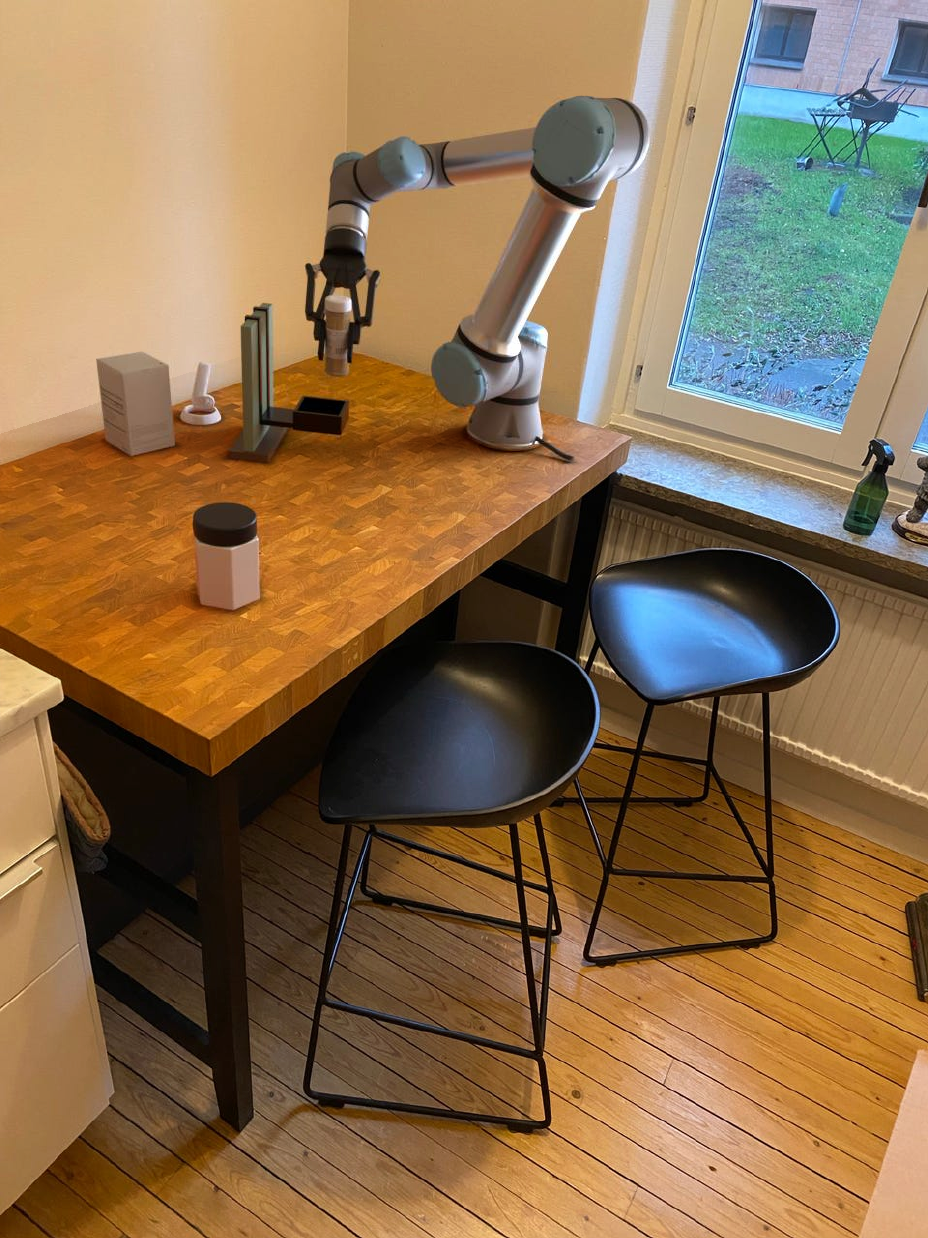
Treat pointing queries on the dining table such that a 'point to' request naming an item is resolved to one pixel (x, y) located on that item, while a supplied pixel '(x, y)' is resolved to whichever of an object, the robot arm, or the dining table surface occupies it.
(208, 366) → the white vr controller
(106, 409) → the rectangular carton
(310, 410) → the black tray bracket
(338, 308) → the sprinkles bottle
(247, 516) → the jar
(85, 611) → the dining table surface
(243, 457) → the green slatted stand
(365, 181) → the robot arm
